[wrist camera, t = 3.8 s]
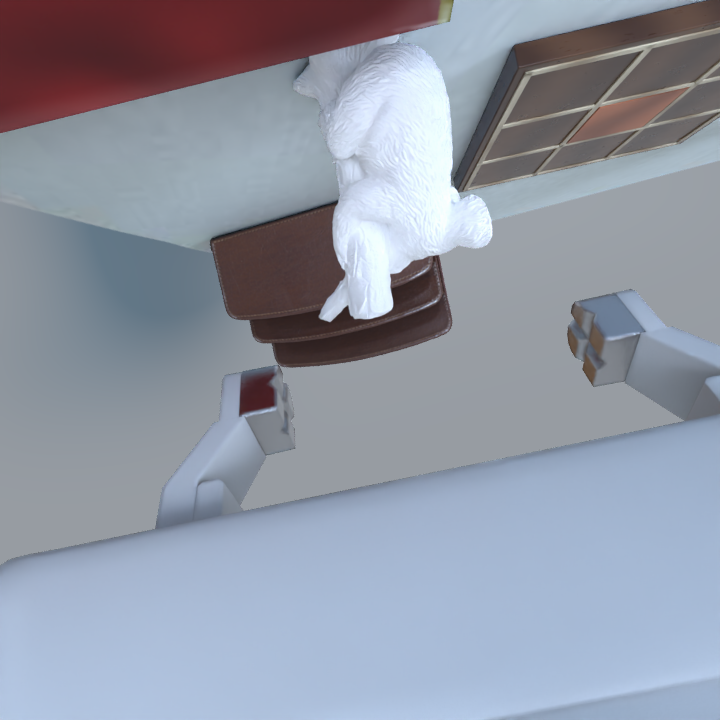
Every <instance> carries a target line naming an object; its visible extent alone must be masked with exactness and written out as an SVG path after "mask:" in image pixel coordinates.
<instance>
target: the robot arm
mask: <svg viewBox="0 0 720 720" xmlns="http://www.w3.org/2000/svg"><path fill="white" fill-rule="evenodd" d="M571 314H572V315H573V317H574V320H573V321H572V322H571V323H570V324H569V326H568V333H567V335H568V343H569V346H570V349H571V351H572V353H573V354H574V356H575V358H577V359H579V360H581V361H583V362H584V364H583V371H584V373H585V374H586V376H587V377H588V379H589V381H590V382H591V384H592V385H593V387H596V386H602V385H607V384H613V383H618V382H624V381H625V383H626V384H627V385H629V386H631V387H632V388H634V389H635V390H637V391H638V392H640V393H642V394H643V395H645V396H646V397H648V398H650V399H651V400H653V401H654V402H656V403H657V404H659V405H660V406H662V407H664V408H665V409H667V410H668V411H670V412H672V413H673V414H675V415H676V416H678V417H679V418H681V419H683V420H684V421H683V422H678V423H673V424H668V425H663V426H659V427H654V428H649V429H644V430H639V431H634V432H629V433H624V434H619V435H615V436H609V437H604V438H599V439H594V440H589V441H585V442H580V443H575V444H570V445H565V446H561V447H555V448H550V449H545V450H541V451H536V452H531V453H526V454H521V455H516V456H511V457H506V458H502V459H496V460H492V461H487V462H482V463H477V464H472V465H467V466H462V467H457V468H452V469H447V470H443V471H437V472H432V473H428V474H423V475H418V476H413V477H408V478H403V479H398V480H393V481H388V482H383V483H378V484H374V485H369V486H364V487H359V488H354V489H349V490H345V491H340V492H334V493H329V494H325V495H320V496H315V497H310V498H305V499H300V500H295V501H290V502H286V503H280V504H275V505H270V506H266V507H261V508H256V509H251V510H246V511H243V509H242V508H241V506H240V505H241V503H242V501H243V499H244V497H245V496H246V494H247V492H248V490H249V488H250V486H251V485H252V483H253V481H254V479H255V477H256V475H257V473H258V471H259V470H260V468H261V466H262V464H263V462H264V461H265V459H266V455H270V454H274V453H279V452H283V451H287V450H291V449H295V429H294V427H293V424H292V422H291V420H292V418H293V417H294V408H293V402H292V397H291V393H290V390H289V388H288V385H287V384H286V383H284V382H283V373H282V371H281V369H280V366H279V365H274V366H268V367H263V368H258V369H252V370H248V371H243V372H239V373H233V374H228V375H225V376H224V378H223V381H222V391H221V402H220V413H219V421H218V422H214V423H213V424H212V425H211V427H210V428H209V429H208V430H207V432H206V433H205V434H204V436H203V437H202V438H201V439H200V441H199V442H198V443H197V444H196V446H195V447H194V448H193V450H192V451H191V452H190V453H189V455H188V456H187V457H186V459H185V460H184V461H183V462H182V464H181V465H180V466H179V468H178V469H177V470H176V471H175V473H174V474H173V475H172V476H171V478H170V479H169V480H168V482H167V483H166V484H165V485H164V487H163V488H162V493H161V498H160V504H159V510H158V515H157V521H156V528H155V529H153V530H148V531H143V532H138V533H134V534H129V535H124V536H119V537H114V538H109V539H104V540H99V541H94V542H89V543H84V544H80V545H75V546H70V547H65V548H60V549H55V550H49V551H44V552H38V553H33V554H28V555H24V556H20V557H16V558H12V559H10V560H8V561H6V562H4V563H3V564H1V565H0V720H720V346H719V345H717V344H715V343H712V342H710V341H707V340H705V339H702V338H700V337H697V336H695V335H692V334H690V333H687V332H685V331H682V330H680V329H678V328H675V327H666V326H665V325H664V323H663V322H662V321H661V320H660V319H659V318H658V316H657V315H656V314H655V313H654V312H653V311H652V310H651V308H650V307H649V306H648V305H647V304H646V303H645V301H644V300H643V299H642V298H641V297H640V296H639V294H638V293H637V292H636V291H635V290H632V289H629V290H624V291H620V292H616V293H612V294H607V295H603V296H598V297H593V298H589V299H584V300H580V301H575V302H574V304H573V305H572V309H571Z"/></svg>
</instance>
